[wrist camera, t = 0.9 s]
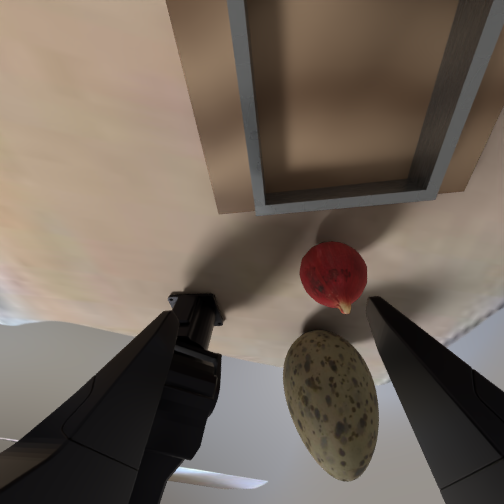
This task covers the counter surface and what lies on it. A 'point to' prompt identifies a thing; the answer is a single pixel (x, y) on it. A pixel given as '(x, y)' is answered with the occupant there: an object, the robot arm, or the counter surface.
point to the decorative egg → (332, 402)
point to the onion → (334, 275)
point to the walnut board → (326, 92)
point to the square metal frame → (433, 130)
